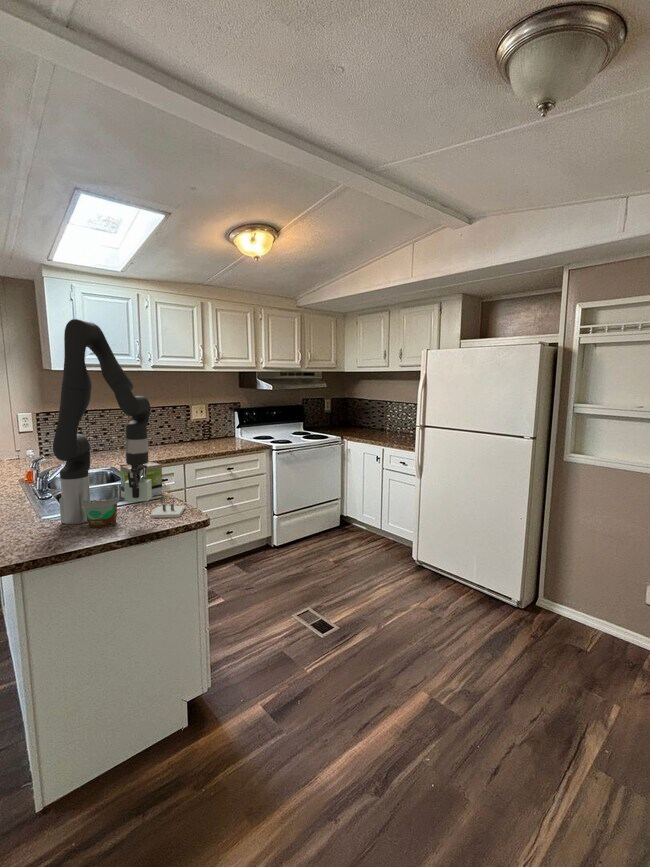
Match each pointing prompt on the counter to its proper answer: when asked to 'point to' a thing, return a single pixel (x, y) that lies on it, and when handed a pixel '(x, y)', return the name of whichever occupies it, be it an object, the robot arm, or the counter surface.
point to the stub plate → (167, 511)
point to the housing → (144, 491)
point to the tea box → (152, 473)
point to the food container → (101, 512)
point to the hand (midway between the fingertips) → (138, 495)
